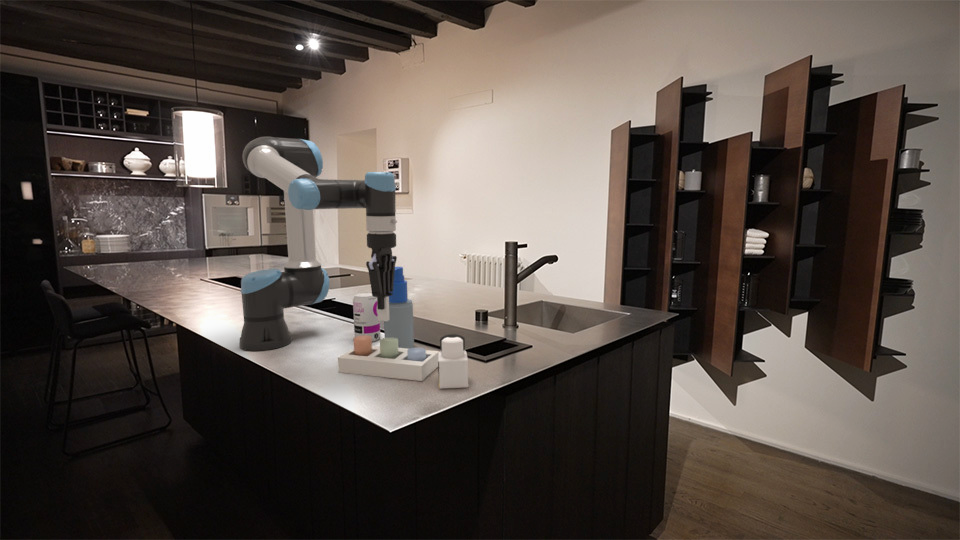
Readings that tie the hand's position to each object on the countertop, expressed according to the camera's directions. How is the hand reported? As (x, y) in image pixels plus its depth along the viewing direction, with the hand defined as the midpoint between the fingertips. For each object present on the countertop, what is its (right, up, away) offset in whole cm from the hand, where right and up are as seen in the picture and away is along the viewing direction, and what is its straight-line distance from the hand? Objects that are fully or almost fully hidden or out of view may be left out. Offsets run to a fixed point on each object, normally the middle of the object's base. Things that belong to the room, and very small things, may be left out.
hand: (383, 320), depth 129 cm
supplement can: (-11, -9, +29) cm, 32 cm away
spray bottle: (+1, -11, +20) cm, 23 cm away
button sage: (+2, -10, +1) cm, 10 cm away
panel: (+2, -13, +1) cm, 13 cm away
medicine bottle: (+19, -15, -9) cm, 26 cm away
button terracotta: (-6, -10, +3) cm, 12 cm away
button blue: (+9, -13, -1) cm, 16 cm away
